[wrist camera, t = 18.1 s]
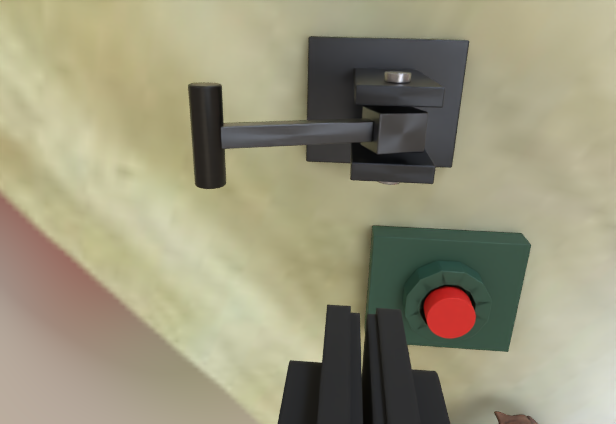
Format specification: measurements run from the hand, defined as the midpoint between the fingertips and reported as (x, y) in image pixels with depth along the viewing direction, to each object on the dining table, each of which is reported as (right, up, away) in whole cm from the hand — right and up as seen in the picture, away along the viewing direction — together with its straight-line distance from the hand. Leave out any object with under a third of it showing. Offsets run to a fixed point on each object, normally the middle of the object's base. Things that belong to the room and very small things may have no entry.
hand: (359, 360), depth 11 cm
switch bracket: (+4, +12, +24) cm, 27 cm away
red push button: (+10, -4, +26) cm, 28 cm away
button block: (+10, -3, +29) cm, 31 cm away
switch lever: (-1, +8, +15) cm, 17 cm away
